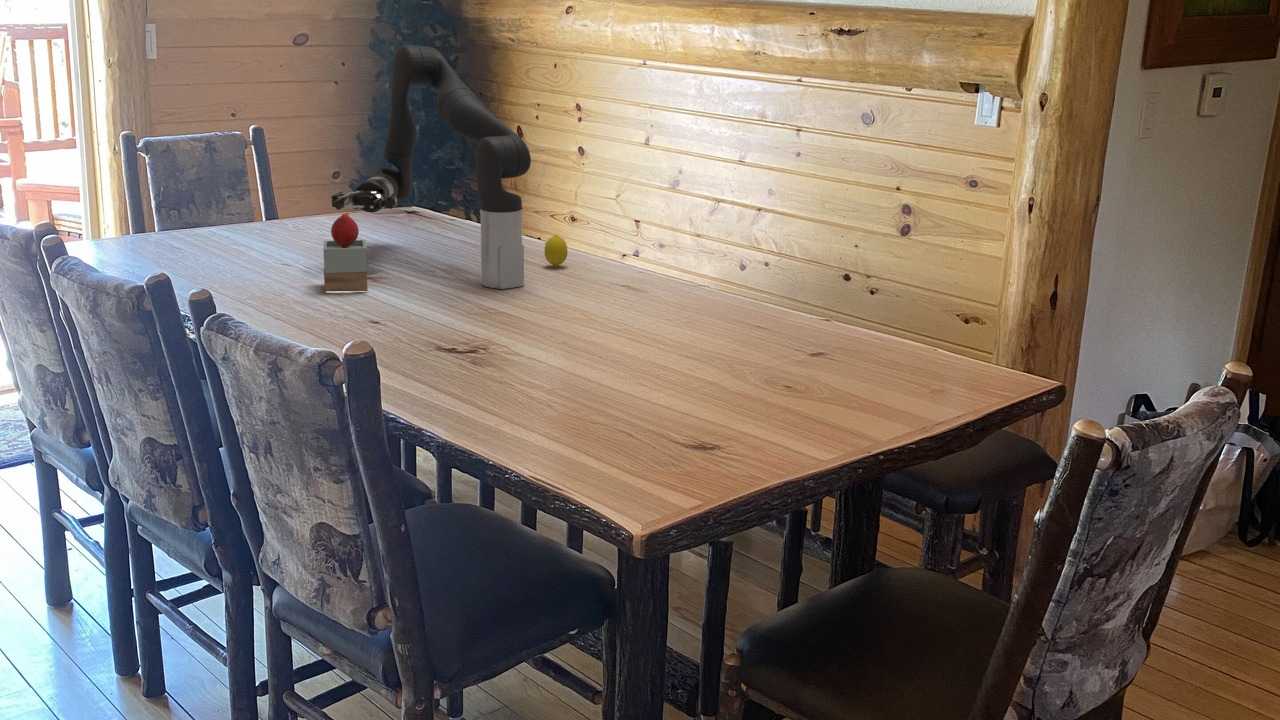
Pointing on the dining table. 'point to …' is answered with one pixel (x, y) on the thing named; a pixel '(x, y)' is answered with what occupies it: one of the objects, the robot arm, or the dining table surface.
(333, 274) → the tower base
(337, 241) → the onion
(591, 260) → the dining table surface
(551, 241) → the lemon
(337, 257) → the tower top
